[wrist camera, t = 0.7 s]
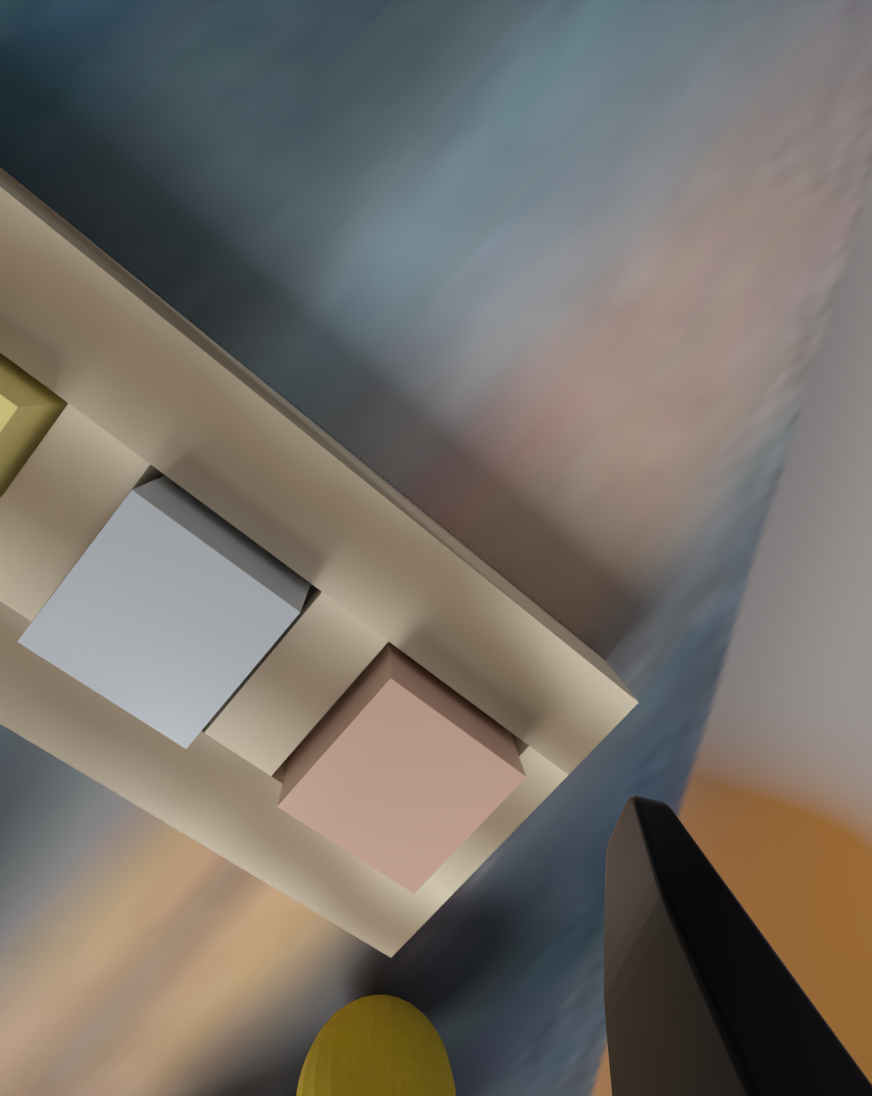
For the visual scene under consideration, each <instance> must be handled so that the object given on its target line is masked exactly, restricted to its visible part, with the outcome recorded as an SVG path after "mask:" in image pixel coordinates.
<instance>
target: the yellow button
mask: <svg viewBox="0 0 872 1096" xmlns="http://www.w3.org/2000/svg"><path fill="white" fill-rule="evenodd" d="M67 405H68V403H67V402H66V401H65V400H63V399H62V398H61V397H59V396H58V395H57V394H55V393H54V392H53V391H51V390H50V389H49V388H47V387H46V386H45V385H43V384H42V383H41V382H39V381H38V380H37V379H35V378H34V377H32V376H31V375H30V374H28V373H27V372H26V371H24V370H23V369H22V368H20V367H19V366H18V365H16V364H15V363H14V362H12V361H11V360H10V359H8V358H7V357H6V356H4V355H3V354H2V353H0V498H1V497H2V495H3V494H4V493H5V491H6V490H7V488H8V487H9V486H10V484H11V483H12V481H13V480H14V479H15V477H16V476H17V475H18V473H19V472H20V470H21V469H22V468H23V466H24V465H25V463H26V462H27V461H28V459H29V458H30V456H31V455H32V454H33V452H34V451H35V449H36V448H37V447H38V445H39V444H40V442H41V441H42V440H43V438H44V437H45V435H46V434H47V433H48V431H49V430H50V428H51V427H52V426H53V424H54V423H55V421H56V420H57V419H58V417H59V416H60V415H61V413H62V412H63V410H64V409H65V408H66V406H67Z"/></svg>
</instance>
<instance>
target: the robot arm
mask: <svg viewBox="0 0 872 1096" xmlns="http://www.w3.org/2000/svg"><path fill="white" fill-rule="evenodd" d="M604 1001H605V1017H606V1030H607V1041H608V1052H609V1063H610V1074H611V1085H612V1096H872V1084H871V1083H870V1082H869V1080H868V1079H867V1077H866V1076H865V1075H864V1073H863V1072H862V1071H861V1070H860V1068H859V1066H858V1065H857V1064H856V1062H855V1061H854V1060H853V1058H852V1057H851V1055H850V1054H849V1053H848V1051H847V1050H846V1049H845V1047H844V1046H843V1044H842V1043H841V1042H840V1040H839V1039H838V1038H837V1036H836V1035H835V1033H834V1032H833V1031H832V1029H831V1028H830V1027H829V1025H828V1024H827V1023H826V1021H825V1020H824V1018H823V1017H822V1016H821V1014H820V1013H819V1011H818V1010H817V1009H816V1007H815V1006H814V1005H813V1003H812V1002H811V1001H810V999H809V998H808V996H807V995H806V994H805V992H804V991H803V990H802V988H801V987H800V985H799V984H798V983H797V981H796V980H795V978H794V977H793V976H792V974H791V973H790V972H789V970H788V969H787V967H786V966H785V965H784V963H783V962H782V961H781V959H780V958H779V956H778V955H777V954H776V952H775V951H774V950H773V948H772V947H771V946H770V944H769V943H768V941H767V940H766V939H765V937H764V936H763V935H762V933H761V932H760V930H759V929H758V928H757V926H756V925H755V923H754V922H753V921H752V920H751V918H750V917H749V915H748V914H747V913H746V911H745V910H744V908H743V907H742V906H741V904H740V903H739V902H738V900H737V899H736V897H735V896H734V895H733V893H732V892H731V890H730V889H729V888H728V886H727V885H726V884H725V882H724V881H723V879H722V878H721V877H720V875H719V874H718V873H717V871H716V870H715V868H714V867H713V866H712V864H711V863H710V862H709V860H708V859H707V857H706V856H705V855H704V853H703V852H702V851H701V849H700V848H699V847H698V845H697V844H696V842H695V841H694V840H693V838H692V837H691V836H690V834H689V833H688V831H687V830H686V829H685V827H684V826H683V824H682V823H681V822H680V820H679V819H678V818H677V816H676V815H675V813H674V812H673V811H672V809H671V808H670V807H669V806H668V805H667V804H665V803H663V802H660V801H656V800H652V799H648V798H644V797H639V796H633V797H631V798H630V799H629V800H628V801H627V803H626V805H625V807H624V809H623V811H622V813H621V816H620V818H619V820H618V822H617V824H616V827H615V829H614V831H613V833H612V835H611V838H610V840H609V843H608V847H607V852H606V869H605V945H604Z"/></svg>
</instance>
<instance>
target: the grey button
mask: <svg viewBox="0 0 872 1096" xmlns="http://www.w3.org/2000/svg"><path fill="white" fill-rule="evenodd" d="M310 584H311V583H310V582H308V581H307V580H306V579H304V578H303V577H302V576H300V575H299V574H297V573H296V572H295V571H293V570H292V569H291V568H289V567H288V566H287V565H285V564H284V563H283V562H281V561H280V560H279V559H277V558H276V557H275V556H273V555H272V554H271V553H269V552H268V551H267V550H265V549H264V548H263V547H261V546H260V545H258V544H257V543H256V542H254V541H253V540H252V539H250V538H249V537H248V536H246V535H245V534H244V533H242V532H241V531H240V530H238V529H237V528H236V527H234V526H233V525H232V524H230V523H229V522H228V521H226V520H225V519H224V518H222V517H221V516H219V515H218V514H217V513H215V512H214V511H213V510H211V509H210V508H209V507H207V506H206V505H205V504H203V503H202V502H201V501H199V500H198V499H197V498H195V497H194V496H193V495H191V494H190V493H189V492H187V491H186V490H184V489H183V488H182V487H180V486H179V485H178V484H176V483H175V482H174V481H172V480H171V479H170V478H168V477H167V476H166V475H165V476H163V477H160V478H158V479H156V480H153V481H151V482H149V483H146V484H144V485H142V486H140V487H137V488H135V489H133V490H131V492H130V493H129V494H128V496H127V497H126V498H125V500H124V501H123V502H122V504H121V505H120V506H119V507H118V509H117V510H116V511H115V513H114V514H113V515H112V517H111V518H110V519H109V521H108V522H107V523H106V525H105V526H104V527H103V529H102V530H101V531H100V533H99V534H98V535H97V537H96V538H95V539H94V541H93V542H92V543H91V545H90V546H89V547H88V549H87V550H86V551H85V553H84V554H83V555H82V557H81V558H80V559H79V561H78V562H77V563H76V564H75V566H74V567H73V568H72V570H71V571H70V572H69V574H68V575H67V576H66V578H65V579H64V580H63V582H62V583H61V584H60V586H59V587H58V588H57V590H56V591H55V592H54V594H53V595H52V596H51V598H50V599H49V600H48V602H47V603H46V604H45V606H44V607H43V608H42V610H41V611H40V612H39V614H38V615H37V616H36V618H35V619H34V620H33V621H32V623H31V624H30V625H29V627H28V628H27V629H26V631H25V632H24V633H23V635H22V636H21V637H20V639H19V640H18V641H17V642H18V643H20V644H21V645H23V646H25V647H26V648H28V649H29V650H31V651H32V652H34V653H36V654H37V655H39V656H40V657H42V658H43V659H45V660H47V661H48V662H50V663H51V664H53V665H54V666H56V667H58V668H59V669H61V670H62V671H64V672H66V673H67V674H69V675H70V676H72V677H73V678H75V679H77V680H78V681H80V682H81V683H83V684H84V685H86V686H88V687H89V688H91V689H92V690H94V691H95V692H97V693H99V694H100V695H102V696H103V697H105V698H106V699H108V700H110V701H111V702H113V703H114V704H116V705H117V706H119V707H121V708H122V709H124V710H125V711H127V712H129V713H130V714H132V715H133V716H135V717H136V718H138V719H140V720H141V721H143V722H144V723H146V724H147V725H149V726H151V727H152V728H154V729H155V730H157V731H158V732H160V733H162V734H163V735H165V736H166V737H168V738H169V739H171V740H173V741H174V742H176V743H177V744H179V745H181V746H182V747H184V748H185V749H187V747H188V746H189V745H190V744H191V743H192V741H193V740H194V739H195V738H196V737H197V735H198V734H199V733H200V732H201V731H202V729H203V728H204V727H205V726H206V725H207V723H208V722H209V721H210V720H211V719H212V717H213V716H214V715H215V714H216V713H217V712H218V710H219V709H220V708H221V707H222V706H223V704H224V703H225V702H226V701H227V700H228V698H229V697H230V696H231V695H232V694H233V692H234V691H235V690H236V689H237V688H238V686H239V685H240V684H241V683H242V682H243V680H244V679H245V678H246V677H247V676H248V674H249V673H250V672H251V671H252V670H253V668H254V667H255V666H256V665H257V664H258V662H259V661H260V660H261V659H262V658H263V656H264V655H265V654H266V653H267V652H268V651H269V649H270V648H271V647H272V646H273V645H274V643H275V642H276V641H277V640H278V639H279V637H280V636H281V635H282V634H283V633H284V631H285V630H286V629H287V628H288V627H289V625H290V624H291V623H292V622H293V621H294V619H295V618H296V617H297V616H298V615H299V613H300V612H301V609H302V606H303V604H304V601H305V598H306V595H307V592H308V590H309V587H310Z"/></svg>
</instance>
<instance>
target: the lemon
mask: <svg viewBox="0 0 872 1096" xmlns="http://www.w3.org/2000/svg"><path fill="white" fill-rule="evenodd" d="M296 1096H456V1091H455V1084H454V1079H453V1074H452V1071H451V1067H450V1063H449V1060H448V1056H447V1053H446V1050H445V1047H444V1044H443V1042H442V1040H441V1038H440V1036H439V1034H438V1032H437V1031H436V1029H435V1028H434V1027H433V1025H432V1024H431V1022H430V1021H429V1020H428V1018H427V1017H426V1016H425V1015H424V1014H423V1013H422V1012H421V1011H420V1010H418V1009H417V1008H416V1007H415V1006H413V1005H412V1004H411V1003H409V1002H407V1001H405V1000H402V999H400V998H398V997H394V996H390V995H371V996H365V997H362V998H359V999H357V1000H354V1001H352V1002H350V1003H349V1004H347V1005H346V1006H344V1007H343V1008H341V1009H340V1010H338V1011H337V1012H336V1013H335V1014H334V1015H333V1016H332V1017H331V1018H330V1019H329V1020H328V1022H327V1023H326V1024H325V1025H324V1026H323V1027H322V1029H321V1030H320V1032H319V1033H318V1035H317V1036H316V1038H315V1040H314V1042H313V1044H312V1046H311V1048H310V1050H309V1052H308V1054H307V1057H306V1059H305V1062H304V1064H303V1067H302V1071H301V1074H300V1078H299V1083H298V1087H297V1093H296Z"/></svg>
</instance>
